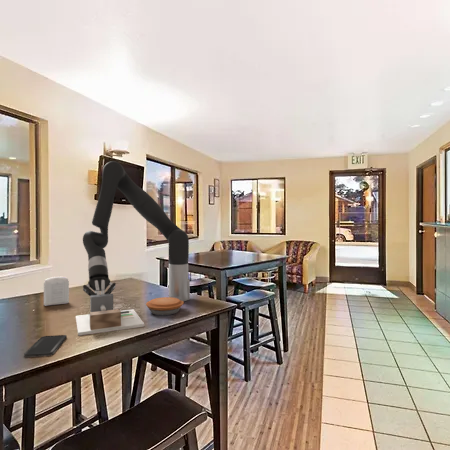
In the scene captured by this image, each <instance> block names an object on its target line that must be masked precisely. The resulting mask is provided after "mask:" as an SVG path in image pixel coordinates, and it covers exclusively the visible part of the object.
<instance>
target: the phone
mask: <svg viewBox="0 0 450 450" xmlns="http://www.w3.org/2000/svg"><path fill="white" fill-rule="evenodd" d="M66 339H67V335H66V334H59V335H58V334H57V335H43V336H41V337H40V338H38V340H37V341H35V343H33V345H31V346H30V347H29V348H28V349H27V350H26V351H25V352H24V353H23V354H24V355H23V356H24V357H25V358H32V357H33V358H34V357H35V358H36V357H38V358H39V357H51V356H53V355H55V353H57V350H58V349H59V348H61V346H62V344H64V342H65V341H66Z"/></svg>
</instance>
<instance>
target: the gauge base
mask: <svg viewBox="0 0 450 450" xmlns="http://www.w3.org/2000/svg"><path fill="white" fill-rule="evenodd" d="M120 311H121V312H123V311H129V313H123V314H121V326H117V327H110V328H102V329H95V330H90V313H89V314H88V313H87V314H80V315H75V322H76V323H75V324H76V331H77V336H85V335H92V334H99V333H107V332H113V331H114V332H115V331H121V330H129V329H136V328H142V327H145V322H144V321H143V320H142V318H141V317H140V316H139V314H138V313H137V312H136V311H135V309H134V308H131V309H123V310H120Z"/></svg>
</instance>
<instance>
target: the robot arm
mask: <svg viewBox="0 0 450 450" xmlns="http://www.w3.org/2000/svg"><path fill="white" fill-rule="evenodd" d="M117 190H119V191H120V192H121V193H122V194H123V195H124V197H125V198H126V199H127V201H128V202H129V203H130V205H131V206H132V207H133V208H134V209H135V210H136V211H137V213H139V214H140V216H141V217H142V218H143V219H145V221H147V222H148V223H149V224H151V226H153V227H154V228H156V229H157V230H158V231H159V232H160V233H161V235H163V236H164V238H165V239H166V240H167V242H168V297H173V298H177V299H179V300H181V301H183V302H187V301H190V297H191V296H190V295H191V294H190V292H191V289H190V287H191V286H190V285H191V284H190V283H191V280H190V279H189V257H190V256H189V255H190V253H189V250H190V249H189V248H190V247H189V246H190V244H189V243H190V241H189V240H190V239H189V235H188V234H187V233H186V231H184V230H182V229H181V228H180V227H179V226H178V225H177V224H175V223H174V222H173V221H172V220H171V219H170V218H169V216H168V215H167V214H166V213H165V211H164V210H163V208H162V207H161V206H160V205H159V203H158V202H157V201H156V200H155V199H154V198H153V197H152V196H151V195H150V194H149V193H148V192H147V191H145V190H144V189H143V188H141V187H140V186H139V185H138V184H136V182H134V180H132V178H131V177H130V176H129V175H128V173H127V172H126V171H125V169H124V167H123V165H122V164H121V163H120V162H117V161H115V160H112V161H108V162H107V163H106V164H105V165H104V166H103V168H102V181H101V186H100V192H99V196H98V199H97V203H96V206H95V208H94V209H95V210H94V214H93V218H92V219H91V224H92V225H93V226H94V227H96V228H98V229H99V231H100V232H97V231H93V230H88V231H86V232H85V233H84V234H83V236H82V244H83V246H84V249H85V251H86V253H87V257H88V266H87V267H88V269H87V272H88V281H87V282H88V283H87V284H84V285H83V286H82V291H83V292H84V293H85V294H87V295H88V296H89V297H90V296H92V295H102V294H112V293H113V291H114V290H115V289H116V285H117V284H116V282H111V279H110V278H109V268H108V262H107V258H106V257H107V256H106V250H105V248H106V247H107V245H108V243H109V223H110V220H111V216H112V212H113V206H114V200H115V194H116V191H117ZM108 287H109V288H108ZM105 290H106V291H105Z"/></svg>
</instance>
